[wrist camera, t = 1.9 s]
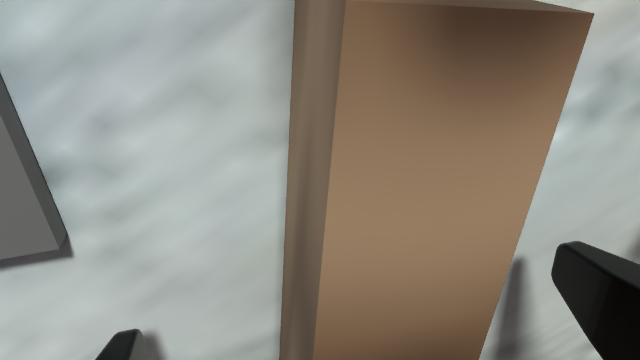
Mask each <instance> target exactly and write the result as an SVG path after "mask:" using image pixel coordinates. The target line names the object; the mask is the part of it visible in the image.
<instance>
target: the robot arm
mask: <svg viewBox="0 0 640 360" xmlns="http://www.w3.org/2000/svg"><path fill="white" fill-rule="evenodd" d="M551 276H552V280H553V282H554V284H555V286H556V288H557V289H558V291H559V292H560V294H561V296H562V297H563V299H564V301H565V302H566V304H567V305H568V307H569V309H570V310H571V312H572V314H573V315H574V317H575V318H576V320H577V322H578V323H579V325H580V327H581V328H582V330H583V331H584V333H585V335H586V336H587V338H588V339H589V341H590V342H591V344H592V345H593V346H594V348H595V349H596V351H597V352H598V353H599V355H600V356H601V357H602V359H603V360H640V264H637V263H634V262H632V261H629V260H627V259H624V258H621V257H619V256H616V255H614V254H611V253H608V252H606V251H603V250H601V249H598V248H596V247H593V246H590V245H588V244H585V243H583V242H580V241H573V242H568V243H563V244H560V245H559V246H558V247H557V250H556V254H555V258H554V263H553V267H552V272H551ZM95 360H151V357H150V354H149V352H148V349H147V346H146V343H145V341H144V338H143V335H142V333H141V331H140V330H139V329H131V330H126V331H121V332H118V333H116V334H115V335H114V336H113V337H112V339H111V340H110V341H109V342H108V344H107V345H106V346H105V348H104V349H103V350H102V351H101V353H100V354H99V355H98V356H97V358H96V359H95Z"/></svg>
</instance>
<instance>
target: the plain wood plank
mask: <svg viewBox="0 0 640 360" xmlns="http://www.w3.org/2000/svg"><path fill="white" fill-rule="evenodd" d="M593 16H594V13H590V12H585V11H581V10H576V9H571V8H567V7H562V6H557V5H553V4H548V3H543V2H539V1H534V0H295V13H294V36H293V59H292V81H291V104H290V127H289V150H288V173H287V196H286V219H285V242H284V265H283V288H282V311H281V334H280V357H279V360H479V357H480V354H481V351H482V348H483V345H484V342H485V339H486V336H487V333H488V330H489V327H490V324H491V321H492V318H493V315H494V312H495V309H496V306H497V303H498V300H499V297H500V294H501V291H502V288H503V285H504V282H505V279H506V276H507V273H508V270H509V267H510V264H511V261H512V258H513V255H514V252H515V249H516V246H517V243H518V240H519V237H520V234H521V231H522V228H523V225H524V222H525V219H526V216H527V213H528V210H529V207H530V204H531V201H532V198H533V195H534V193H535V190H536V187H537V184H538V181H539V178H540V175H541V172H542V169H543V166H544V163H545V160H546V157H547V154H548V151H549V148H550V145H551V142H552V139H553V136H554V133H555V130H556V127H557V124H558V121H559V118H560V115H561V112H562V109H563V106H564V103H565V100H566V97H567V94H568V91H569V88H570V85H571V82H572V79H573V76H574V73H575V70H576V67H577V64H578V61H579V58H580V55H581V52H582V49H583V46H584V43H585V40H586V37H587V34H588V31H589V28H590V25H591V22H592V19H593Z"/></svg>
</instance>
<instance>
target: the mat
mask: <svg viewBox="0 0 640 360" xmlns="http://www.w3.org/2000/svg"><path fill="white" fill-rule="evenodd" d="M66 235H67V232H66V230H65V228H64V225H63V223H62V220H61V218H60V216H59V213H58V211H57V209H56V206H55V204H54V201H53V199H52V197H51V194H50V192H49V190H48V187H47V185H46V182H45V180H44V178H43V175H42V173H41V171H40V168H39V166H38V163H37V161H36V159H35V156H34V154H33V152H32V149H31V147H30V144H29V142H28V140H27V137H26V135H25V133H24V130H23V128H22V125H21V123H20V121H19V118H18V116H17V114H16V111H15V109H14V106H13V104H12V102H11V99H10V97H9V95H8V92H7V90H6V87H5V85H4V83H3V80H2V78H1V76H0V260H1V259H7V258H12V257H18V256H24V255H30V254H36V253H42V252H48V251H54V250H60V248H61V246H62V244H63V241H64V239H65V237H66Z"/></svg>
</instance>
